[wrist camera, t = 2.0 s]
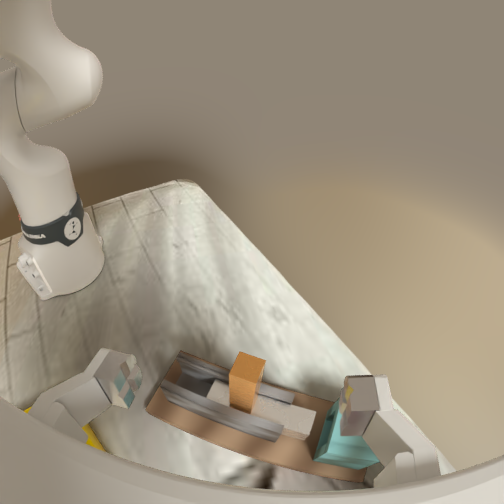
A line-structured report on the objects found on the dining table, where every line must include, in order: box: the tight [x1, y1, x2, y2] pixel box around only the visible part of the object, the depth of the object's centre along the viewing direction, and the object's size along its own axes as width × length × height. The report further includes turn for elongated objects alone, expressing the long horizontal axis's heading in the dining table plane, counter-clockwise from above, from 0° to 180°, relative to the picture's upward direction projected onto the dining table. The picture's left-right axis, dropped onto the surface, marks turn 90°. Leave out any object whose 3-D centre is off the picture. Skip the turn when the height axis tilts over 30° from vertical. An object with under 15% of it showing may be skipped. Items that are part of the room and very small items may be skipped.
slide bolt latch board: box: [145, 351, 380, 483], centre depth 30 cm, size 28×10×8 cm, turn 70°
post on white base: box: [206, 352, 316, 441], centre depth 27 cm, size 12×3×12 cm, turn 70°
